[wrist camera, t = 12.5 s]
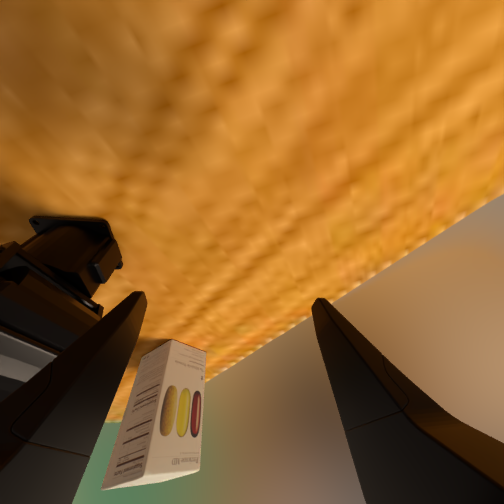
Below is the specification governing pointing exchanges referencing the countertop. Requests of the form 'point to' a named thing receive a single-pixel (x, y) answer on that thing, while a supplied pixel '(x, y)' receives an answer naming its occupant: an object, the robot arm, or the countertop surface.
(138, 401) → the supplement box
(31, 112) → the countertop surface
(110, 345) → the robot arm
